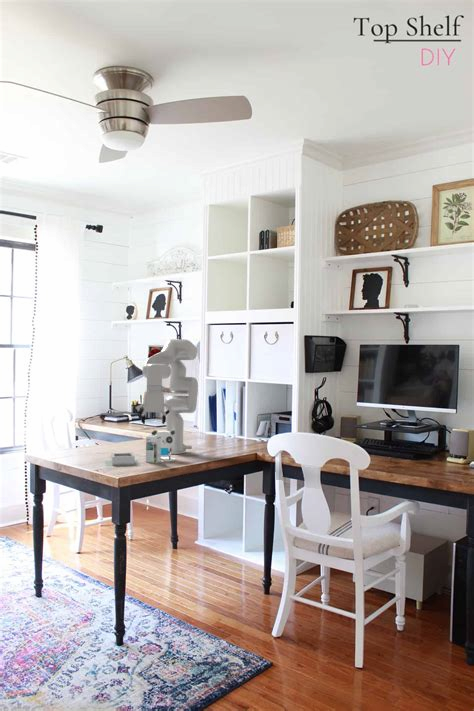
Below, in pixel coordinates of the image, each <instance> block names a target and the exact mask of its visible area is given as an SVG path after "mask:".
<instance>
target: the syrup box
mask: <svg viewBox="0 0 474 711" xmlns="http://www.w3.org/2000/svg"><path fill="white" fill-rule="evenodd" d="M161 461H162V459H161V436H157V435H152V434H148V435H146V436H145V463H147V464H148V463H149V464H157V463H160V462H161Z"/></svg>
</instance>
